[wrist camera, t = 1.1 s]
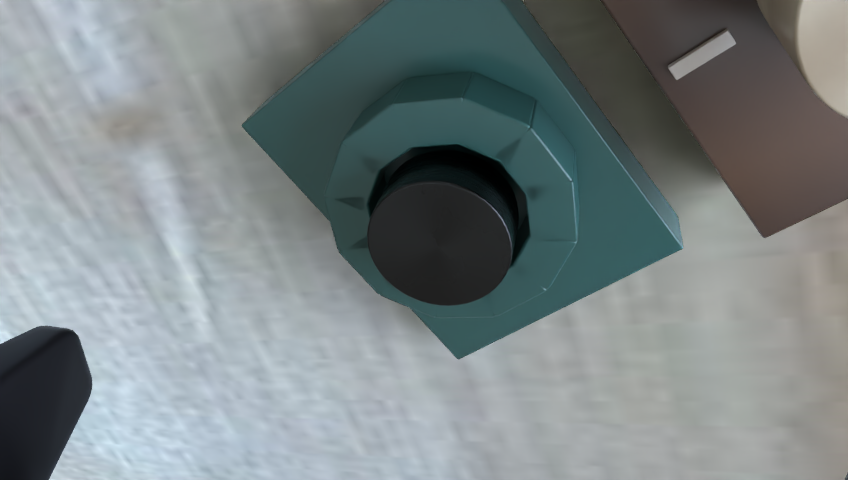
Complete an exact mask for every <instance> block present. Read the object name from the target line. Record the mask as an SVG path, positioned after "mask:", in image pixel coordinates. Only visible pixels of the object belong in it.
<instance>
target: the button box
mask: <svg viewBox="0 0 848 480" xmlns="http://www.w3.org/2000/svg"><path fill="white" fill-rule="evenodd" d="M242 127H243V128H244V129H245V131H246V132H247V133H248V134H249V135H250V136H251V137H252V138H253V139H254V140H255V141H256V142H257V143H258V145H259V146H260V147H261V148H262V149H263V150H264V151H265V152H266V153H267V154H268V155H269V156H270V157H271V159H272V160H273V161H274V162H275V163H276V164H277V165H278V166H279V167H280V168H281V169H282V170H283V171H284V173H285V174H286V175H287V176H288V177H289V178H290V179H291V180H292V181H293V182H294V183H295V184H296V186H297V187H298V188H299V189H300V190H301V191H302V192H303V193H304V194H305V195H306V196H307V197H308V198H309V200H310V201H311V202H312V203H313V204H314V205H315V206H316V207H317V208H318V209H319V210H320V211H321V212H322V214H323V215H324V216H325V217H326V218H327V219H328V220H329V221H330V223H331V227H332V230H333V234H334V238H335V241H336V245H337V249H338V250H339V253H340V254H341V255H342V256H343V257H344V258H345V259H346V260H347V261H348V263H349V264H350V265H351V266H352V267H353V268H354V269H355V270H356V271H357V272H358V273H359V274H360V275H361V276H362V277H363V278H364V280H365V281H366V282H367V283H368V284H369V285H370V286H371V287H372V288H373V289H374V290H375V291H376V292H377V293H378V294H380V295H381V296H383V297H385V298H388V299H390V300H393V301H395V302H397V303H400V304H402V305H405V306H407V307H409V308H411V309H412V311H413V312H414V313H415V314H416V315H417V316H418V317H419V318H420V319H421V320H422V321H423V322H424V323H425V325H426V326H427V327H428V328H429V329H430V330H431V331H432V332H433V333H434V334H435V335H436V336H437V337H438V339H439V340H440V341H441V342H442V343H443V344H444V345H445V346H446V347H447V348H448V349H449V350H450V351H451V353H452V354H453V355H454V356H455V357H456V358H457V359H460V358H463V357H465V356H467V355H469V354H471V353H473V352H475V351H477V350H479V349H481V348H483V347H485V346H487V345H489V344H491V343H493V342H495V341H497V340H499V339H501V338H503V337H505V336H507V335H509V334H511V333H513V332H515V331H517V330H519V329H521V328H523V327H525V326H527V325H529V324H531V323H533V322H535V321H537V320H539V319H541V318H543V317H545V316H547V315H549V314H551V313H553V312H555V311H557V310H559V309H561V308H563V307H566V306H568V305H570V304H572V303H574V302H576V301H578V300H580V299H582V298H584V297H586V296H588V295H590V294H592V293H594V292H596V291H598V290H600V289H602V288H604V287H606V286H608V285H610V284H612V283H614V282H616V281H618V280H620V279H622V278H624V277H626V276H628V275H630V274H632V273H634V272H636V271H638V270H640V269H642V268H644V267H646V266H648V265H650V264H652V263H654V262H656V261H658V260H660V259H662V258H664V257H666V256H669V255H671V254H673V253H675V252H677V251H679V250H681V249H682V248H683V243H682V237H681V231H680V225H679V219H678V216H677V215H676V213H675V212H674V210H673V209H672V208H671V206H670V205H669V204H668V202H667V201H666V199H665V198H664V197H663V195H662V194H661V193H660V191H659V190H658V188H657V187H656V186H655V184H654V183H653V182H652V180H651V179H650V177H649V176H648V175H647V173H646V172H645V170H644V169H643V168H642V166H641V165H640V164H639V162H638V161H637V159H636V158H635V157H634V155H633V154H632V153H631V151H630V150H629V148H628V147H627V146H626V144H625V143H624V142H623V140H622V139H621V137H620V136H619V135H618V133H617V132H616V131H615V129H614V128H613V126H612V125H611V124H610V122H609V121H608V119H607V118H606V117H605V115H604V114H603V113H602V111H601V110H600V108H599V107H598V106H597V104H596V103H595V102H594V100H593V99H592V97H591V96H590V95H589V93H588V92H587V91H586V89H585V88H584V86H583V85H582V84H581V82H580V81H579V80H578V78H577V77H576V75H575V74H574V73H573V71H572V70H571V68H570V67H569V66H568V64H567V63H566V62H565V60H564V59H563V57H562V56H561V55H560V53H559V52H558V51H557V49H556V48H555V46H554V45H553V44H552V42H551V41H550V40H549V38H548V37H547V35H546V34H545V33H544V31H543V30H542V28H541V27H540V26H539V24H538V23H537V22H536V20H535V19H534V17H533V16H532V15H531V13H530V12H529V11H528V9H527V8H526V6H525V5H524V4H523V2H522V1H521V0H385V1H384V2H383V3H382V4H380V5H379V6H378V7H377V8H376V9H374V10H373V11H372V12H371V13H370V14H368V15H367V16H366V17H365V18H364V19H363V20H361V21H360V22H359V23H358V24H357V25H355V26H354V27H353V28H352V29H351V30H349V31H348V32H347V33H346V34H345V35H344V36H342V37H341V38H340V39H339V40H338V41H336V42H335V43H334V44H333V45H332V46H330V47H329V48H328V49H327V50H326V51H325V52H323V53H322V54H321V55H320V56H319V57H317V58H316V59H315V60H314V61H313V62H311V63H310V64H309V65H308V66H307V67H306V68H304V69H303V70H302V71H301V72H300V73H298V74H297V75H296V76H295V77H294V78H292V79H291V80H290V81H289V82H288V83H286V84H285V85H284V86H283V87H282V88H281V89H279V90H278V91H277V92H276V93H275V94H273V95H272V96H271V97H270V98H269V99H267V100H266V101H265V102H264V103H263V104H262V105H261V106H260V107H259V108H258V109H257V110H256V111H255V112H254V113H253V114H252V115H251V116H250V117H249V118H248V119H247V120H246V121H245V122H244V123H243V124H242ZM436 150H453V151H460V152H464V153H468V154H471V155H473V156H476V157H478V158H480V159H482V160H484V161H486V162H487V163H489V164H490V165H492V166H493V167H494V168H495V169H496V170H498V171H499V172H500V173H501V175H502V176H503V177H504V178H505V179H506V181H507V182H508V183H509V185H510V186H511V188H512V190H513V192H514V195H515V197H516V200H517V205H518V212H519V219H518V227H517V233H516V238H515V244H514V250H513V255H512V260H511V264H510V268H509V270H508V272H507V274H506V276H505V277H504V279H503V281H502V282H501V283H500V284H499V285H498V286H497V287H496V288H495V289H494V290H493V291H492V292H490V293H489V294H487V295H486V296H484V297H483V298H480V299H478V300H476V301H473V302H470V303H467V304H462V305H454V306H440V305H433V304H428V303H424V302H421V301H418V300H415V299H413V298H411V297H409V296H407V295H405V294H403V293H402V292H400V291H398V290H397V289H396V288H395V287H393V286H392V285H391V284H390V283H389V282H388V281H387V280H386V279H385V278H384V277H383V276H382V275H381V274H380V272H379V271H378V269H377V268H376V266H375V264H374V262H373V260H372V258H371V255H370V252H369V249H368V243H367V229H368V223H369V220H370V217H371V215H372V213H373V211H374V209H375V207H376V205H377V203H378V201H379V199H380V197H381V195H382V193H383V191H384V189H385V187H386V185H387V183H388V181H389V179H390V177H391V176H392V175H393V173H394V172H395V171H396V170H397V169H398V168H399V166H401V165H402V164H403V163H404V162H406V161H407V160H409V159H411V158H412V157H415V156H417V155H419V154H422V153H426V152H429V151H436Z"/></svg>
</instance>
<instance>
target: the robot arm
mask: <svg viewBox="0 0 848 480" xmlns="http://www.w3.org/2000/svg"><path fill="white" fill-rule="evenodd" d="M91 390H92V377H91V373H90V370H89V367H88V364H87V361H86V358H85V355H84V352H83V349H82V345H81V342H80V339H79V337H78V335H77V334H76V333H75V332H74V331H73V330H70V329H67V328H59V327H52V326H39V327H36V328H34V329H31V330H29V331H27V332H25V333H23V334H21V335H19V336H16V337H14V338H12V339H10V340H8V341H6V342H4V343H2V344H0V480H49V478H50V476H51V474H52V472H53V470H54V468H55V466H56V464H57V462H58V460H59V458H60V456H61V454H62V452H63V450H64V448H65V446H66V444H67V442H68V440H69V438H70V436H71V434H72V432H73V430H74V428H75V426H76V424H77V422H78V420H79V418H80V416H81V414H82V412H83V410H84V408H85V406H86V404H87V402H88V399H89V397H90V394H91ZM845 480H848V473H847V476H846V478H845Z"/></svg>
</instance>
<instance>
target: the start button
mask: <svg viewBox="0 0 848 480" xmlns="http://www.w3.org/2000/svg"><path fill="white" fill-rule="evenodd" d="M518 219H519V212H518V205H517V200H516V197H515V195H514V192H513V190H512V188H511V186H510V185H509V183H508V182H507V181H506V179H505V178H504V177H503V176H502V175H501V173H500V172H499V171H498V170H496V169H495V168H494V167H493V166H492V165H490V164H489V163H487V162H486V161H484V160H482V159H480V158H478V157H476V156H473V155H471V154H468V153H464V152H460V151H453V150H436V151H429V152H426V153H422V154H419V155H417V156H415V157H412V158H411V159H409V160H407V161H406V162H404V163H403V164H402V165H401V166H399V168H398V169H397V170H396V171H395V172H394V173H393V175H392V176H391V177H390V179H389V181H388V183H387V185H386V187H385V189H384V191H383V193H382V195H381V197H380V199H379V201H378V203H377V205H376V207H375V209H374V211H373V213H372V215H371V217H370V220H369V223H368V229H367V243H368V249H369V252H370V255H371V258H372V260H373V262H374V264H375V266H376V268H377V269H378V271H379V272H380V274H381V275H382V276H383V277H384V278H385V279H386V280H387V281H388V282H389V283H390V284H391V285H392V286H393V287H395V288H396V289H397V290H398V291H400V292H402V293H403V294H405V295H407V296H409V297H411V298H413V299H415V300H418V301H421V302H424V303H428V304H433V305H440V306H454V305H462V304H467V303H470V302H473V301H476V300H478V299H480V298H483V297H484V296H486V295H487V294H489V293H490V292H492V291H493V290H494V289H495V288H496V287H497V286H498V285H499V284H500V283H501V282H502V281H503V279H504V277H505V276H506V274H507V272H508V270H509V268H510V264H511V260H512V255H513V250H514V244H515V238H516V233H517V227H518Z"/></svg>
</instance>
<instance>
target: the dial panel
mask: <svg viewBox="0 0 848 480" xmlns="http://www.w3.org/2000/svg"><path fill="white" fill-rule="evenodd" d="M600 1H601V2H602V4H603V5H604V7H605V8H606V10H607V11H608V12H609V14H610V15H611V17H612V18H613V20H614V21H615V23H616V24H617V26H618V27H619V28H620V30H621V31H622V33H623V34H624V36H625V37H626V39H627V40H628V42H629V43H630V45H631V46H632V47H633V49H634V50H635V52H636V53H637V55H638V56H639V58H640V59H641V61H642V62H643V64H644V65H645V66H646V68H647V69H648V71H649V72H650V74H651V75H652V77H653V78H654V80H655V81H656V83H657V84H658V85H659V87H660V88H661V90H662V91H663V93H664V94H665V96H666V97H667V99H668V100H669V101H670V103H671V104H672V106H673V107H674V109H675V110H676V112H677V113H678V115H679V116H680V118H681V119H682V120H683V122H684V123H685V125H686V126H687V128H688V129H689V131H690V132H691V134H692V135H693V137H694V138H695V139H696V141H697V142H698V144H699V145H700V147H701V148H702V150H703V151H704V153H705V154H706V156H707V157H708V158H709V160H710V161H711V163H712V164H713V166H714V167H715V169H716V170H717V172H718V173H719V175H720V176H721V177H722V179H723V180H724V182H725V183H726V185H727V186H728V188H729V189H730V191H731V192H732V193H733V195H734V196H735V198H736V199H737V201H738V202H739V204H740V205H741V207H742V208H743V210H744V211H745V212H746V214H747V215H748V217H749V218H750V220H751V221H752V223H753V224H754V226H755V227H756V229H757V230H758V231H759V233H760V234H761V236H762V237H764V238H766V237H768V236H771V235H773V234H775V233H777V232H779V231H781V230H783V229H785V228H787V227H790V226H792V225H794V224H796V223H798V222H800V221H802V220H804V219H806V218H808V217H811V216H813V215H815V214H817V213H819V212H821V211H823V210H825V209H827V208H830V207H832V206H834V205H836V204H838V203H840V202H842V201H844V200H846V199H848V119H847V118H845V117H844V116H842V115H840V114H838V113H836V112H835V111H833V110H832V109H831V108H829V107H828V106H827V105H825V104H824V103H823V102H822V101H821V100H820V99H819V98H818V97H817V96H816V95H815V94H814V92H813V91H812V90H811V88H810V87H809V85H808V84H807V83H806V81H805V80H804V78H803V77H802V75H801V73H800V72H799V70H798V69H797V67H796V66H795V64H794V63H793V61H792V60H791V58H790V56H789V55H788V53H787V52H786V50H785V49H784V47H783V46H782V44H781V42H780V41H779V39H778V38H777V36H776V35H775V33H774V32H773V30H772V29H771V27H770V25H769V24H768V22H767V21H766V19H765V18H764V16H763V14H762V12H761V10H760V8H759V6H758V3H757V0H600Z"/></svg>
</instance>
